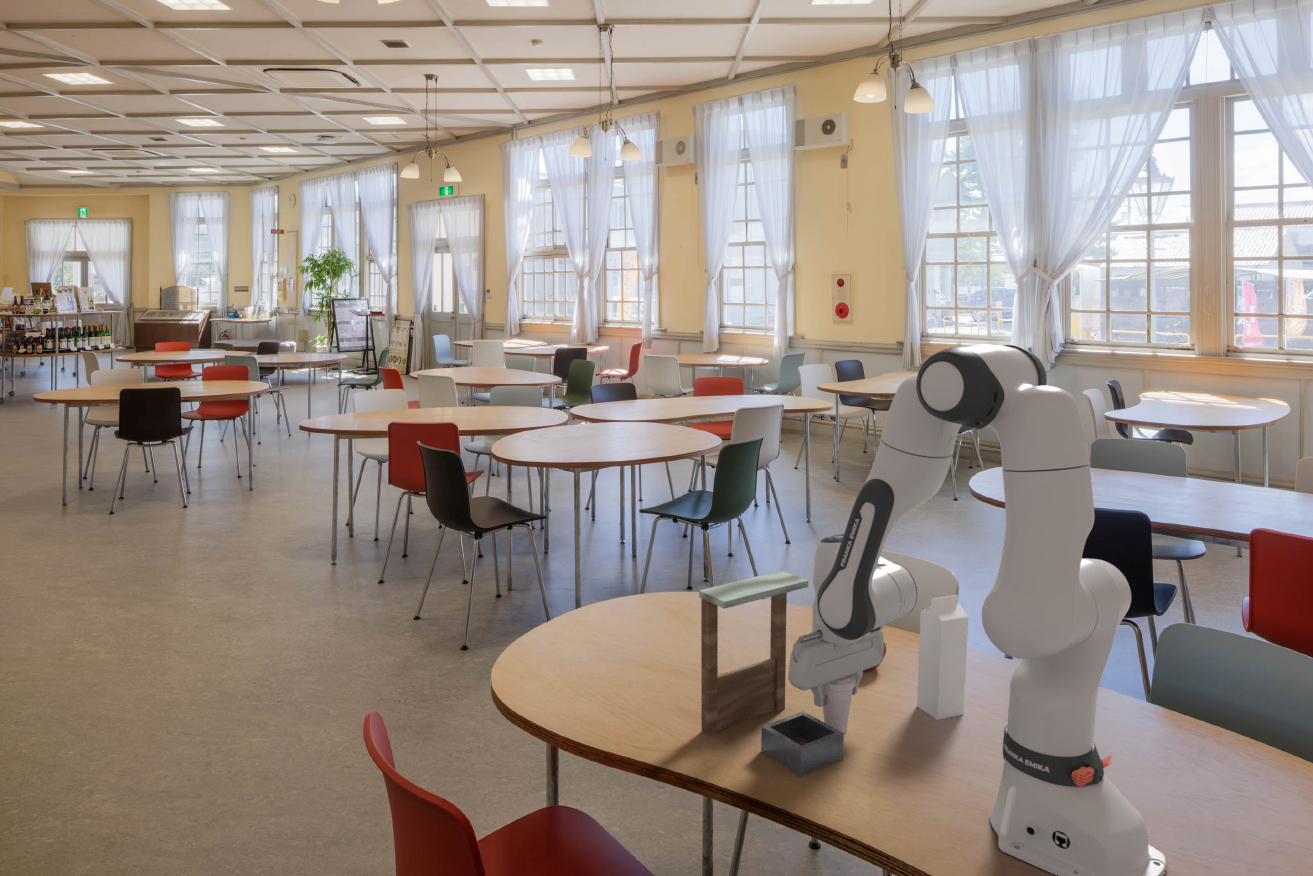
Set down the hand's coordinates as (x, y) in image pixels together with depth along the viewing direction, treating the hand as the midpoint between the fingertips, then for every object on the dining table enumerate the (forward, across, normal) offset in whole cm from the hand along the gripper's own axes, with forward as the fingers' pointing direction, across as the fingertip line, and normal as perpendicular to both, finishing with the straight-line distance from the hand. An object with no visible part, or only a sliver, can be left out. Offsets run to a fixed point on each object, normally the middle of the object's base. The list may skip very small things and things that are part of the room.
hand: (835, 699), depth 153 cm
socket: (+6, -11, -3) cm, 13 cm away
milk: (+6, +21, -6) cm, 23 cm away
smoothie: (+6, 0, 0) cm, 6 cm away
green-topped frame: (+6, -11, +9) cm, 15 cm away
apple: (+6, +24, +15) cm, 29 cm away
